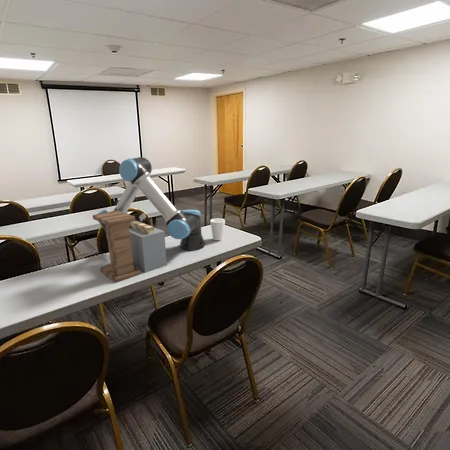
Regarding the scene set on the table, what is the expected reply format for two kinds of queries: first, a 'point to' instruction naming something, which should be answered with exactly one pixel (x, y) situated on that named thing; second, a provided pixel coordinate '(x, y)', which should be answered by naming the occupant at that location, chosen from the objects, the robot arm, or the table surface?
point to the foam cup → (217, 228)
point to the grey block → (148, 249)
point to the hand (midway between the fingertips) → (133, 217)
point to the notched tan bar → (142, 227)
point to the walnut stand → (118, 245)
